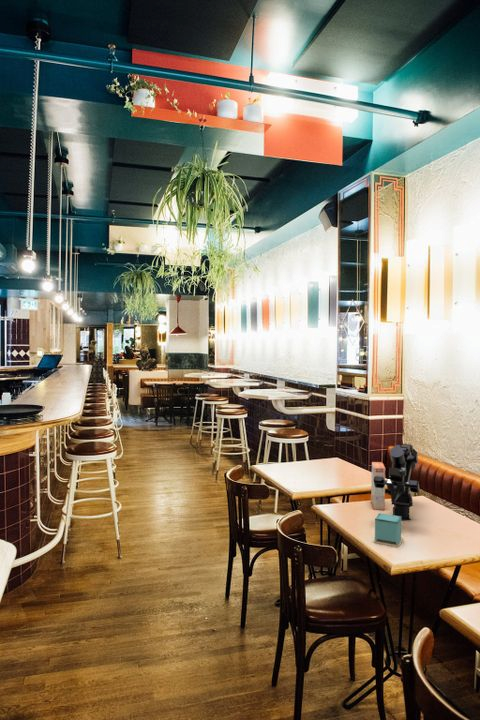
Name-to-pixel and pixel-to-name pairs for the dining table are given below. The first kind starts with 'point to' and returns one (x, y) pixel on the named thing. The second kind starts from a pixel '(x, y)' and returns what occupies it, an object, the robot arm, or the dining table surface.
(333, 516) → the dining table surface
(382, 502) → the cracker box
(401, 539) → the parcel base
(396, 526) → the cover
